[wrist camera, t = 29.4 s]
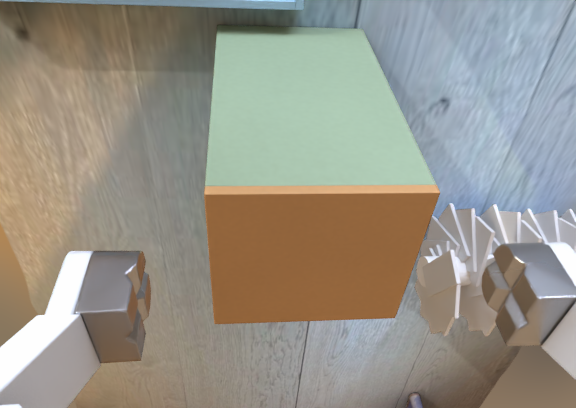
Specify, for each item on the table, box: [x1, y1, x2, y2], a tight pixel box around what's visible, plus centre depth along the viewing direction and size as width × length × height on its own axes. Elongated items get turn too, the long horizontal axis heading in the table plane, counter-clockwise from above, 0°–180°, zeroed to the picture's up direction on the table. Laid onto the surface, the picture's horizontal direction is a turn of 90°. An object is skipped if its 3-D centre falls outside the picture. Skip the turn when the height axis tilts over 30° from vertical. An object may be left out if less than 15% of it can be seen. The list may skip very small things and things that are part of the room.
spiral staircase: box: [414, 203, 576, 336], centre depth 66 cm, size 18×18×25 cm
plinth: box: [204, 25, 440, 324], centre depth 44 cm, size 15×14×26 cm
